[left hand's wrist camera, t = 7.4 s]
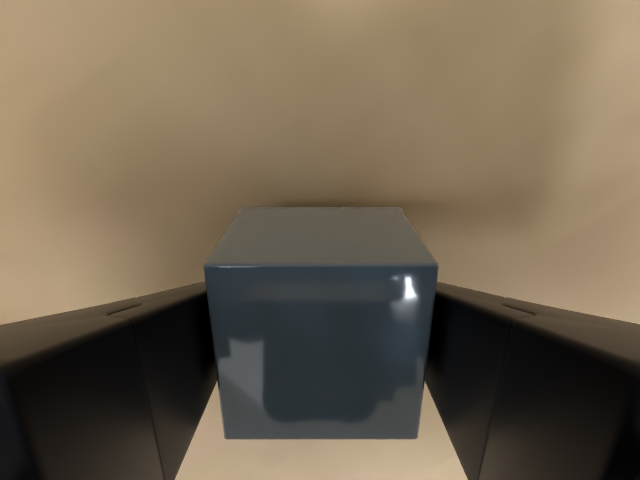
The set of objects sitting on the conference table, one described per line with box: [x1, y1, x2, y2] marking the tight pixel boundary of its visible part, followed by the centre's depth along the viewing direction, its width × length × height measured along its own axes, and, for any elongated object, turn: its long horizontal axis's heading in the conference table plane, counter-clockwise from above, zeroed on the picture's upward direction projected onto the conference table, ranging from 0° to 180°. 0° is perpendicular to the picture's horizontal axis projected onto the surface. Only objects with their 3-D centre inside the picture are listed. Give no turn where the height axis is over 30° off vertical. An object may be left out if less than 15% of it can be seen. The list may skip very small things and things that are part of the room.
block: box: [203, 207, 439, 440], centre depth 10 cm, size 5×5×4 cm
